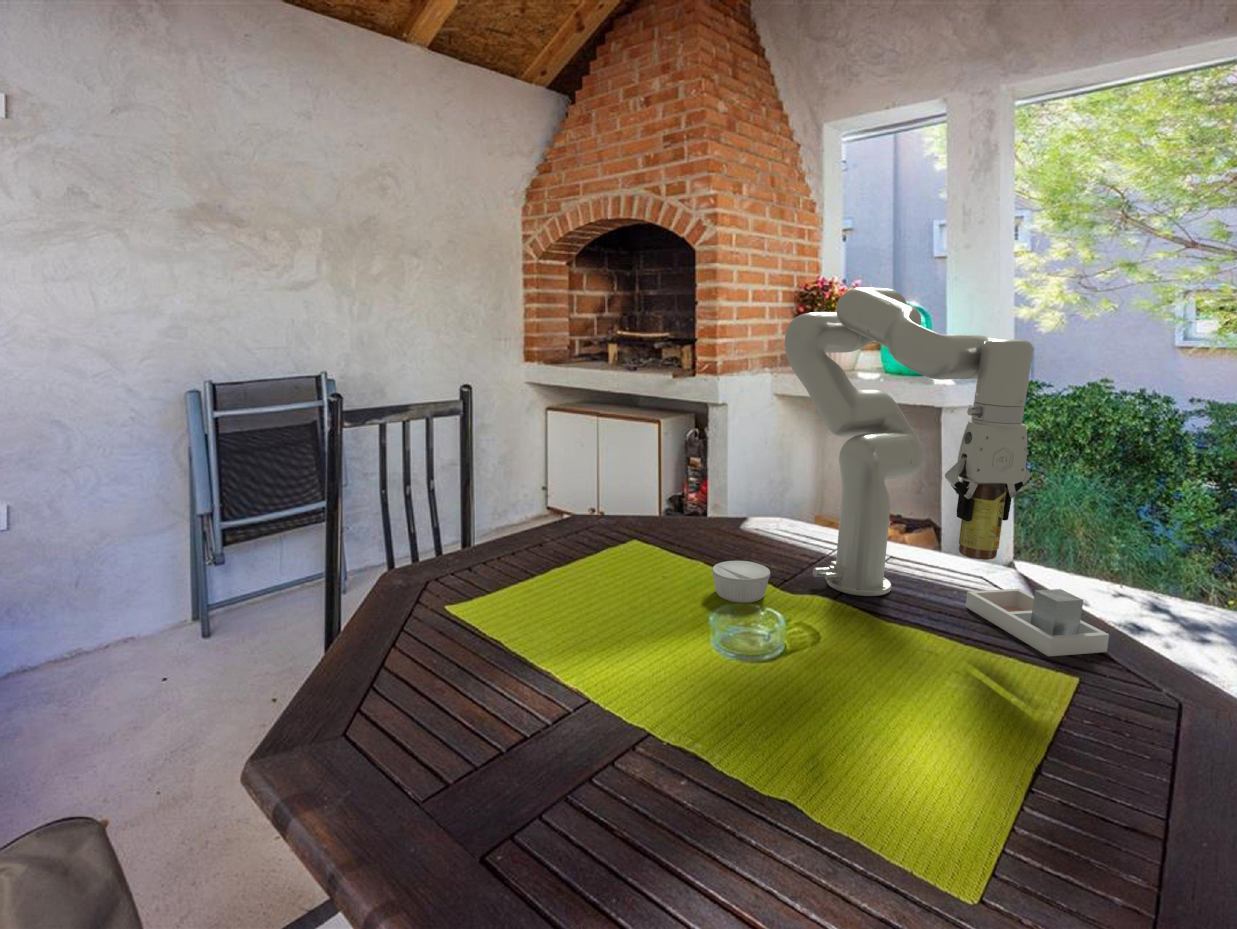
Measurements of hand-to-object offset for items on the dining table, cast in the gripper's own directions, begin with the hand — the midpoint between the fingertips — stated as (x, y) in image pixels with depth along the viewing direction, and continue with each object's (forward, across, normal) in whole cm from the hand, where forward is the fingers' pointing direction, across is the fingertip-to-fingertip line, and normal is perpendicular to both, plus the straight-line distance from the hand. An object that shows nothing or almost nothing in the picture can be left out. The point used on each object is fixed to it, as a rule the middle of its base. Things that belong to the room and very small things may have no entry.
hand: (982, 517), depth 127 cm
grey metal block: (+20, +11, -7) cm, 24 cm away
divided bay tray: (+21, +11, -2) cm, 24 cm away
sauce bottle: (+7, 0, 0) cm, 7 cm away
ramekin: (+22, -34, +23) cm, 46 cm away
